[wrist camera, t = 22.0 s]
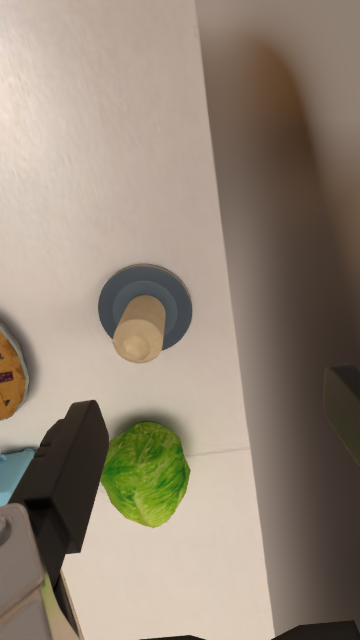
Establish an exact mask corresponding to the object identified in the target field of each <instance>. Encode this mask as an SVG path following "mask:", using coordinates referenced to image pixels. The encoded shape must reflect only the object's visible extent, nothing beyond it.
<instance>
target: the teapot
mask: <svg viewBox="0 0 360 640" xmlns="http://www.w3.org/2000/svg"><path fill="white" fill-rule="evenodd" d="M34 454H35V452H34V450H32V449H30V448H26V449H24V451H23V452H18V453H12V454H8V455H6V454H0V507H1V506H3V505H6V504H7V503H8V501H9V499H10V497H11V496H12V494H13V492H14V490H15V488H16V487H17V485H18V483H19V481H20V479H21V478H22V476H23V474H24V472H25V470H26V469H27V467H28V465H29V463H30V461H31V460H32V459H33V458H34Z"/></svg>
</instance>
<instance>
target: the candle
mask: <svg viewBox="0 0 360 640" xmlns="http://www.w3.org/2000/svg"><path fill="white" fill-rule="evenodd" d="M165 318H166V313H165V308H164V306H163V304H162V303H161V302H160V301H159V300H158V299H157V298H155V297H153V296H150V295H140V296H137V297H135V298H134V299H132V300H131V301H130V302H129V304H128V305H127V307H126V309H125V311H124V313H123V316H122V318H121V320H120V322H119V324H118V326H117V328H116V331H115V333H114V337H113V344H114V347H115V349H116V351H117V353H118V354H119V355H120V356H121V357H122V358H124V359H125V360H127V361H130V362H133V363H146V362H149V361H151V360H153V359H154V358H156V357H157V356H158V355H159V353H160V352H161V349H162V346H163V337H164V327H165Z"/></svg>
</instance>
